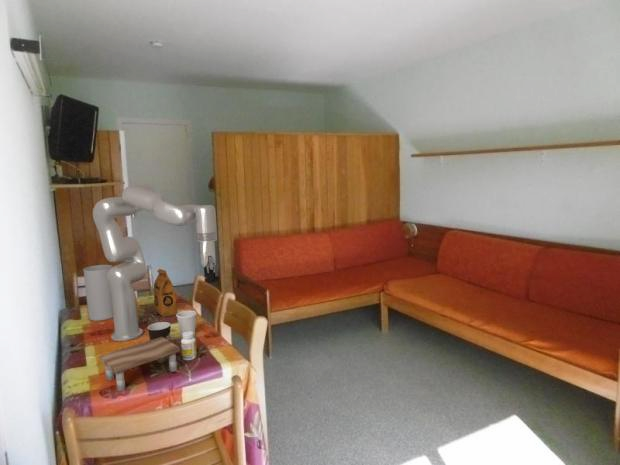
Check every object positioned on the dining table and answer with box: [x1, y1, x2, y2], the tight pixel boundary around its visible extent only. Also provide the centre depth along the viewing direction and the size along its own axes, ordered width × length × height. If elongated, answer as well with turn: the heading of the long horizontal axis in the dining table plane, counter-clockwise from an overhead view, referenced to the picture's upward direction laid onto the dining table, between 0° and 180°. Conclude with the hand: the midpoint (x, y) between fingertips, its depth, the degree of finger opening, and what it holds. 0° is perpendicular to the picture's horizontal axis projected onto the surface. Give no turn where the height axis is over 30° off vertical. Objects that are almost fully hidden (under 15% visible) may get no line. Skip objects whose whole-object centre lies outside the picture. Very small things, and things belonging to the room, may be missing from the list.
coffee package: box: [153, 268, 178, 318], centre depth 205 cm, size 10×12×22 cm
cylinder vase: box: [83, 264, 114, 322], centre depth 201 cm, size 12×12×25 cm
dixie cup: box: [175, 310, 197, 339], centre depth 176 cm, size 8×8×10 cm
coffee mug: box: [147, 321, 172, 342], centre depth 164 cm, size 12×9×10 cm
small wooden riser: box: [99, 337, 181, 392], centre depth 143 cm, size 14×22×8 cm, turn 135°
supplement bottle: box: [180, 331, 198, 361], centre depth 155 cm, size 5×5×10 cm
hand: (210, 279), depth 163 cm, fingers open, 9 cm apart
